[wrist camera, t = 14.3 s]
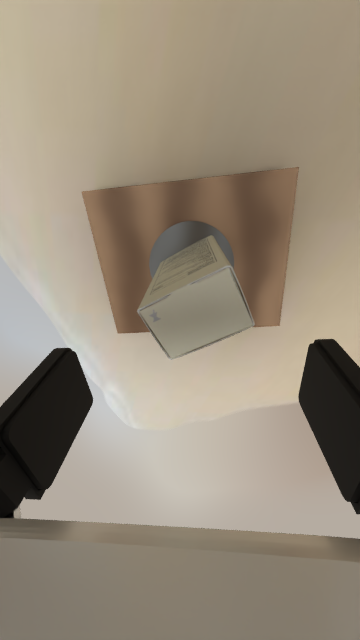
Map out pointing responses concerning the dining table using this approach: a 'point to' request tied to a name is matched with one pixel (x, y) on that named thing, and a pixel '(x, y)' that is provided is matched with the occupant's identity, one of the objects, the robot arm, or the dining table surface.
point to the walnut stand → (195, 235)
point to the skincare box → (194, 300)
